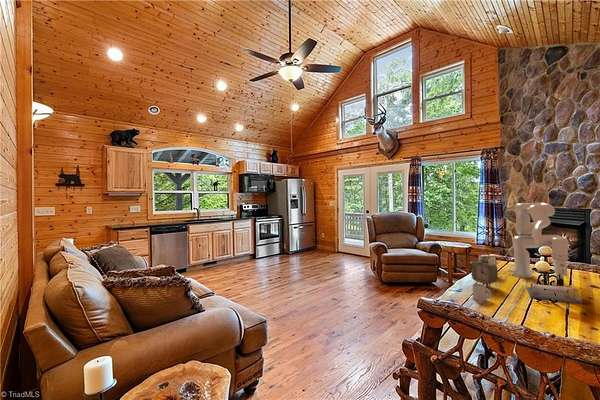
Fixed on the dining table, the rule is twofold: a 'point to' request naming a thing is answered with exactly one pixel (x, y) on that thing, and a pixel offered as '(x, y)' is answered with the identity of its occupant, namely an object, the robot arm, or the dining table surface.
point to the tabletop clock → (484, 271)
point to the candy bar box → (489, 258)
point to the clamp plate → (549, 294)
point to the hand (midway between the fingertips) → (560, 285)
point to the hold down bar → (555, 287)
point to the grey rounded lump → (480, 292)
